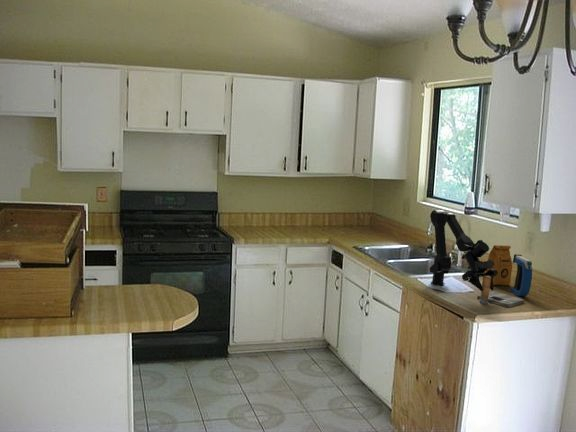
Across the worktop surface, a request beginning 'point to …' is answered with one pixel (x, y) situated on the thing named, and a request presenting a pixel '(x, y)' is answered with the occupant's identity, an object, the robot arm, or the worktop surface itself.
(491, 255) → the coffee package
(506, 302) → the grey square tile
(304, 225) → the worktop surface
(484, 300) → the wooden block
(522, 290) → the blue curved piece
